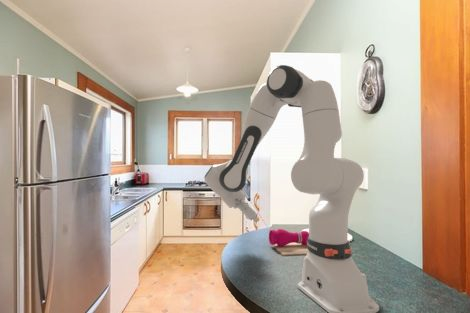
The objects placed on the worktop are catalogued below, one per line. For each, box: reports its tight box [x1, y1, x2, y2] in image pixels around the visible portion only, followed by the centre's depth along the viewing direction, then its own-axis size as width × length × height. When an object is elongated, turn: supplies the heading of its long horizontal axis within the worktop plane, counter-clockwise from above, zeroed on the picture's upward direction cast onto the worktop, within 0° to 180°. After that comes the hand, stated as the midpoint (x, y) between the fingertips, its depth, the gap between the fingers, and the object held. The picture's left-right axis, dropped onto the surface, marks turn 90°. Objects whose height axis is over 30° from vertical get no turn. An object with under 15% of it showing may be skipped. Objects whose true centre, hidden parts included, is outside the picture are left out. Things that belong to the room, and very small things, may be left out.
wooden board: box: [272, 242, 308, 257], centre depth 111 cm, size 16×20×1 cm
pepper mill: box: [268, 228, 309, 246], centre depth 114 cm, size 7×7×20 cm
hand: (256, 220), depth 109 cm, fingers closed
